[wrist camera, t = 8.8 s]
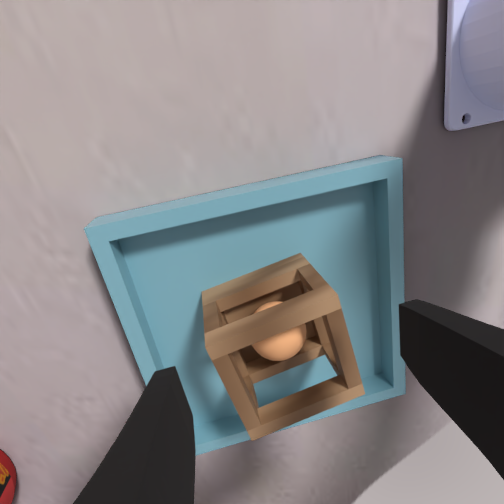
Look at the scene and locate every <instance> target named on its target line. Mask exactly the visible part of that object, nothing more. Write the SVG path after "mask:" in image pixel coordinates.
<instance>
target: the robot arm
mask: <svg viewBox="0 0 504 504" xmlns="http://www.w3.org/2000/svg"><path fill="white" fill-rule="evenodd" d="M463 115H465V120H464V122H463V123H462V117H463ZM503 120H504V0H448V11H447V43H446V75H445V107H444V126H445V128H446V129H447V130H449V131H457V130H461V129H466V128H471V127H475V126H480V125H484V124H489V123H494V122H498V121H503ZM399 332H400V356H401V357H402V359H403V360H404V362H405V363H406V365H407V366H408V368H409V369H410V370H411V372H412V373H413V375H414V376H415V377H416V379H417V380H418V382H419V383H420V384H421V385H422V386H423V388H424V389H425V390H426V391H427V392H428V393H429V394H430V395H431V397H432V398H433V399H434V400H435V401H436V402H437V403H438V404H439V406H440V407H441V408H442V409H443V410H444V411H445V412H446V413H447V414H448V415H449V417H450V418H451V419H452V420H453V421H454V422H455V423H456V424H457V425H458V426H459V428H460V429H461V430H462V431H463V432H464V433H465V434H466V435H467V436H468V437H469V438H470V440H471V441H472V442H473V443H474V444H475V445H476V446H477V447H478V449H479V450H480V451H481V452H482V453H483V455H484V456H485V457H486V458H487V459H488V460H489V462H490V463H491V464H492V465H493V467H494V468H495V469H496V471H497V472H498V473H499V474H500V476H501V477H502V478H503V479H504V329H501V328H498V327H495V326H492V325H489V324H486V323H484V322H481V321H478V320H475V319H472V318H469V317H467V316H464V315H461V314H458V313H456V312H453V311H450V310H447V309H444V308H442V307H439V306H436V305H433V304H430V303H427V302H424V301H420V300H417V299H416V300H412V301H408V302H405V303H401V304H399ZM195 454H196V449H195V434H194V421H193V414H192V411H191V409H190V406H189V403H188V400H187V397H186V395H185V392H184V389H183V386H182V384H181V381H180V378H179V375H178V372H177V370H176V367H175V366H172V367H169V368H165V369H162V370H158V371H155V372H154V374H153V375H152V377H151V379H150V381H149V382H148V384H147V386H146V388H145V390H144V392H143V394H142V395H141V397H140V399H139V401H138V403H137V404H136V406H135V408H134V410H133V412H132V413H131V415H130V417H129V419H128V420H127V422H126V424H125V425H124V427H123V429H122V431H121V432H120V434H119V436H118V437H117V439H116V441H115V442H114V444H113V445H112V447H111V448H110V450H109V452H108V453H107V455H106V456H105V458H104V459H103V461H102V463H101V464H100V466H99V467H98V469H97V470H96V472H95V473H94V475H93V476H92V478H91V479H90V481H89V482H88V483H87V485H86V486H85V488H84V489H83V491H82V492H81V493H80V495H79V496H78V498H77V499H76V500H75V502H74V503H73V504H194V484H195Z"/></svg>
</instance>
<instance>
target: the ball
mask: <svg viewBox="0 0 504 504" xmlns="http://www.w3.org/2000/svg"><path fill="white" fill-rule="evenodd" d="M280 303H282V302H280V301H274V302H269V303H266V304H264V305H262V306H260V307H259V308H258V309H257V310H256V311H255V312H254V314H255V313H257V312H260V311H262V310H265V309H267V308H270V307H272V306H275V305H277V304H280ZM305 339H306V324H305V323H304V324H301V325H299V326H296V327H294V328H291V329H289V330H286V331H284V332H281V333H279V334H276V335H274V336H272V337H269V338H267V339H264V340H262V341H259V342H257V343H254V344H252V346H253V348H254V349H255V351H256V352H257V353H258V354H260V355H261V356H262V357H264V358H266V359H269V360H272V361H283V360H287V359H289V358H291V357H293V356H294V355H296V354H297V353H298V352H299V351H300V349H301V348H302V346H303V345H304V342H305Z"/></svg>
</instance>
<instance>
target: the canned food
mask: <svg viewBox="0 0 504 504" xmlns="http://www.w3.org/2000/svg"><path fill="white" fill-rule="evenodd" d="M16 476H17V475H16V471H15V467H14V465H13V463H12V462H11V460H10V459H9V457H8V456H7V455H6V454H5V453H4V452H3V451H1V450H0V504H11V503H12V500H13V498H14V492H15V486H16Z"/></svg>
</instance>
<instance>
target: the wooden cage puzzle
mask: <svg viewBox="0 0 504 504" xmlns="http://www.w3.org/2000/svg"><path fill="white" fill-rule="evenodd" d="M274 301H280V302H282V303H280V304H277V305H275V306H272V307H270V308H267V309H265V310H262V311H260V312H257V313H255V314H254V312H255V311H256V310H257V309H258V308H259V307H260V306H262V305H264V304H266V303H269V302H274ZM202 305H203V321H204V336H205V348H206V350H207V352H208V354H209V356H210V358H211V360H212V362H213V364H214V366H215V368H216V370H217V372H218V374H219V376H220V378H221V380H222V382H223V384H224V386H225V388H226V390H227V392H228V394H229V396H230V398H231V400H232V402H233V404H234V406H235V408H236V410H237V412H238V414H239V416H240V418H241V420H242V422H243V424H244V426H245V428H246V430H247V432H248V434H249V436H250V438H251V440H252V441H254V440H256V439H258V438H261V437H263V436H266V435H268V434H270V433H273V432H275V431H278V430H280V429H283V428H285V427H287V426H290V425H292V424H295V423H297V422H299V421H302V420H304V419H307V418H309V417H311V416H314V415H316V414H319V413H321V412H323V411H326V410H328V409H331V408H333V407H336V406H338V405H340V404H343V403H345V402H348V401H350V400H352V399H355V398H357V397H360V396H362V395H364V394H365V391H364V387H363V384H362V380H361V377H360V373H359V369H358V366H357V362H356V358H355V355H354V351H353V348H352V344H351V340H350V337H349V333H348V329H347V326H346V322H345V319H344V315H343V311H342V308H341V304H340V300H339V297H338V294H337V293H336V292H335V291H334V290H333V289H332V287H331V286H330V285H329V284H328V283H327V282H326V281H325V280H324V278H323V277H322V276H321V275H320V274H319V273H318V272H317V271H316V270H315V268H314V267H313V266H312V265H311V264H310V263H309V262H308V261H307V259H306V258H305V257H304V256H303V255H302V254H301V253H298V254H296V255H293V256H291V257H288V258H286V259H283V260H280V261H278V262H275V263H273V264H270V265H268V266H265V267H263V268H260V269H258V270H255V271H253V272H250V273H248V274H245V275H242V276H240V277H237V278H235V279H232V280H230V281H227V282H225V283H222V284H220V285H217V286H215V287H212V288H210V289H207V290H204V291H202ZM304 323H305V324H306V339H305V342H304V345H303V346H302V348H301V349H300V351H299V352H298V353H297V354H296V355H294V356H293V357H291V358H289V359H287V360H283V361H272V360H269V359H266V358H264V357H262V356H261V355H260V354H258V353H257V352H256V351H255V349H254V348H253V346H252V344H254V343H257V342H259V341H262V340H264V339H267V338H269V337H272V336H274V335H276V334H279V333H281V332H284V331H286V330H289V329H291V328H294V327H296V326H299V325H301V324H304ZM323 355H325V356H326V357H327V359H328V361H329V362H330V364H331V366H332V367H333V369H334V371H335V372H336V374H337V376H335V377H333V378H330V379H328V380H325V381H323V382H321V383H318V384H316V385H313V386H311V387H308V388H306V389H304V390H301V391H299V392H296V393H294V394H291V395H289V396H287V397H284V398H282V399H279V400H277V401H274V402H272V403H270V404H267V405H265V406H262V407H260V408H259V405H258V401H257V397H256V393H255V389H254V385H253V384H254V383H257V382H259V381H262V380H264V379H267V378H269V377H272V376H274V375H276V374H279V373H281V372H284V371H286V370H289V369H291V368H294V367H296V366H299V365H301V364H303V363H306V362H308V361H311V360H313V359H316V358H318V357H321V356H323Z"/></svg>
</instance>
